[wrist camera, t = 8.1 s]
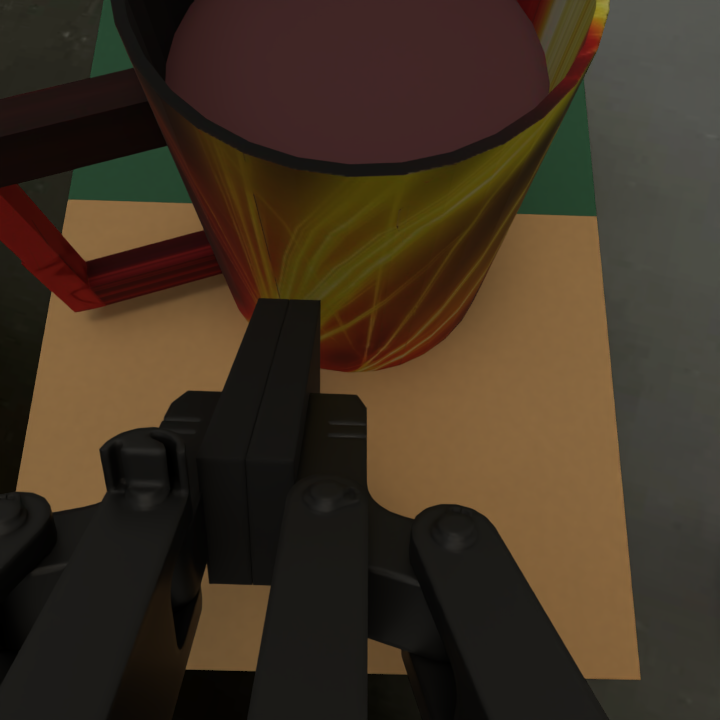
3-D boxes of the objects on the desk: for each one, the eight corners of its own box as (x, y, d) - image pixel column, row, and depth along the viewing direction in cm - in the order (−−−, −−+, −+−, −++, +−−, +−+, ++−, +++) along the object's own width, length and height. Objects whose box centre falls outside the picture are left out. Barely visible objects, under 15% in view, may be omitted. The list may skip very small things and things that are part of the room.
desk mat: (-14, 664, 20) (-16, 665, 19) (125, -113, 29) (124, -115, 29) (639, 678, 20) (640, 679, 20) (566, -95, 29) (566, -98, 29)
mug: (74, 308, 23) (-197, 57, 11) (361, 94, 26) (373, -276, 14) (248, 514, 21) (129, 460, 9) (536, 256, 24) (713, -23, 12)
